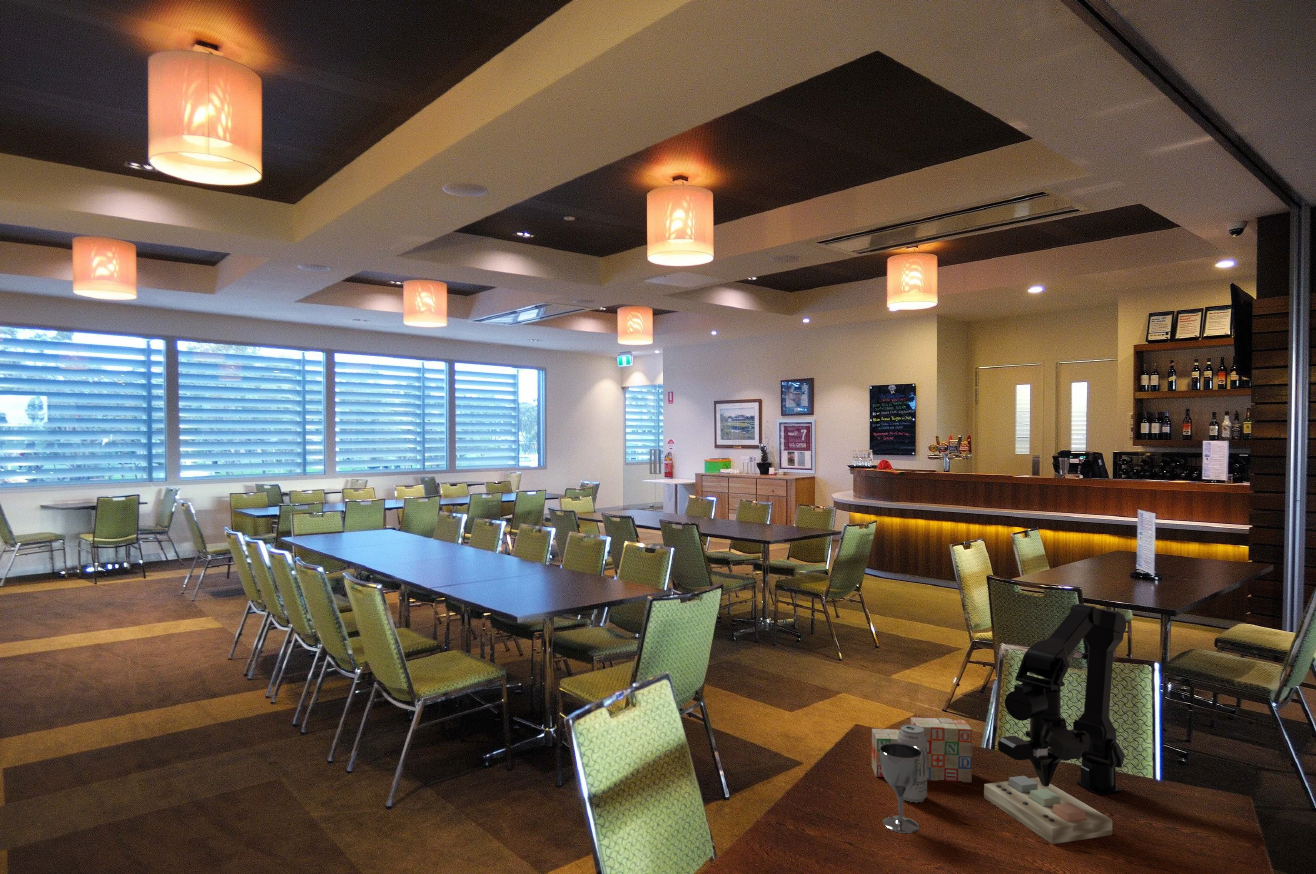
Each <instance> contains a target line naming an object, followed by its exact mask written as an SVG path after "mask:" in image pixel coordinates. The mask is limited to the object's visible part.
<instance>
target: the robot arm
mask: <svg viewBox="0 0 1316 874" xmlns="http://www.w3.org/2000/svg"><path fill="white" fill-rule="evenodd" d="M1127 625H1128V624H1127V620H1126V618H1125V617H1124V616H1123V615H1122V613H1121V612H1120V611H1116V610H1112V609H1111V610H1110V609H1104V608H1098V607H1096V606H1093V605H1088V604H1083V603H1074V604H1073V605H1072V606H1071V607H1070V611H1069V613H1068V614H1067V615H1066V617H1065V618H1064V619H1063V620H1062V622H1060V624H1059V625H1058V626H1057V627H1056V628H1055V630H1054V631H1053V632H1052V633H1051V635H1050V636H1048V638H1046V639H1043V640H1038V641H1035V643H1034V644H1032V645H1031V646H1030V647H1029V648H1028V649H1027V650H1026V651H1025V652H1024V654H1023V656H1022V659H1021V661H1020V665H1019V667H1018V670H1017V672H1016V675H1015V678H1014V681H1016V682H1019V683H1016V684H1014V686H1013V690H1011V691H1010V692H1008V694H1007V695H1006V696H1005V698H1004V707H1005V709H1006V711H1007V713H1008V715H1010V716H1011V718H1013V719H1015V720H1016V721H1022V722H1024V721H1027V720H1029V730H1025V737H1027V738H1029V740H1025V739H1023V738H1020V737H1019V736H1016V735H1009V736H1001V737H1000V738H999V739H998V740H997V750H998V751H999V752H1001V753H1002V754H1005V755H1007V757H1009V758H1011V759H1013V760H1015V761H1026V760H1029V761H1030V763H1031V764H1032V766H1033V769H1034V771H1035V773H1036V775H1037V777H1039V780H1040V782H1041V784H1042V785H1043V786H1045V787H1048V786H1049V784H1051V782H1052V779H1053V776H1054V774H1055V771H1056V769H1057V768H1058V766H1059V763H1060V762H1061V761H1067V762H1068V761H1070V760H1080V759H1081V765H1080V779H1078V780H1076V781H1075V782H1076V784H1078V785H1079V786H1081V787H1082V788H1085V789H1086V790H1088V791H1090V792H1092V793H1094V794H1096V795H1098V796H1101V795H1108V794H1115V793H1121V792H1122V789H1121V788H1120V787H1118V786H1117V785H1116V782H1117V781H1116V778H1117V777H1116V772H1117V771H1116V770H1117V768H1122V767H1123V764H1124V761H1125V752H1124V751H1123V749H1122V748H1121V746H1120V745H1119V743H1118V742H1117V731H1116V728H1115V727H1114V725H1113V723H1112V721H1111V718H1110V706H1111V705H1110V702H1111V701H1110V700H1111V691H1112V690H1111V689H1112V677H1113V663H1114V651H1115V650H1116V649H1117V648H1118V647H1119V645H1120V644H1121V643H1122V642H1123V641H1124V635H1125V632H1126V630H1127ZM1083 639H1084V640H1085V642H1086V645H1088V655H1087V656H1088V657H1087V667H1086V668H1087V670H1086V681H1085V691H1084V692H1085V693H1084V696H1085V697H1084V709H1083V713H1082V714H1081V715H1080V716H1079V717H1078V719H1074V721H1072V729H1068V727H1067V721H1066V718H1064V717H1063V716H1061V713H1062V712H1061V708H1062V707H1061V703H1062V701H1061V698H1062V697H1061V693H1062V692H1061V689H1062V687H1064V686H1065V685H1066V683H1065V682H1064V681H1063V680H1064V679H1065V676H1066V674H1067V672H1068V670H1069V668H1070V661H1069V657H1070V655H1071V654H1072V653H1073V652H1074V650H1075V649H1076V648H1077V646H1078V645H1080V643H1081V642H1082V640H1083Z"/></svg>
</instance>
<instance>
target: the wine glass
mask: <svg viewBox="0 0 1316 874" xmlns="http://www.w3.org/2000/svg"><path fill="white" fill-rule="evenodd" d="M880 762H881V768H882V772H883V775H884V778H883V779H885V781H886V782H887V783H888V785H889V786H890V787H891V788H892V789H893V791H894V792H895V795H896V798H897V799H896V800H897V806H898V807H897V808H898V815H892V816H893V817H889V816H887V817H888V818H886V817H884V818H885V819H884V818H883V819H882V821H881V823H882V822H883V824H882V825H883V826H884V825H885V826H886V827H887V828H886V827H885V828H886V829H887V830H889V829H890V830H889V831H891V832H893V831H895V832H894V833H897V832H898V834H905V833H908V834H913V833H912V832H914V833H916V832H918V831H919V830H920V825H919V823H918V822H917V821H915V820H914V819H911V818H909V817H906V816H903V815H904V814H903V812H904V811H903V808H904V801H905V800H904V797H905V794H906V793H907V791H908V790H909V789H910V788H912V787H913V786H914V785H915V783H916V782H917V780H918V778H919V774H920V769H921V751H920V750H919V749H918V748H917V747H915V746H912V745H909V744H905V743H886V744H883V745H882V746H881V747H880ZM905 817H906V818H905Z"/></svg>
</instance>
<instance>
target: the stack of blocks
mask: <svg viewBox="0 0 1316 874" xmlns="http://www.w3.org/2000/svg"><path fill="white" fill-rule="evenodd" d="M910 724H911V725H917V726H920V727H922V728H923V729H924V733H925V735H926V737H927V779H930V780H929V781H938V780H946V781H945V782H957V781H962V782H961V783H972V782H973V780H972V779H973V776H972V775H973V771H972V768H973V767H972V766H973V729H972V728H971V726H970V725H969V724H968V722H967V721H966V720H964V719H951V718H946V717H945V718H943V717H938V718H935V717H934V718H933V717H910ZM900 730H901V729H890V728H889V729H888V728H887V729H886V728H885V729H884V728H871V767H872V770H873V773H874V776H875V777H876V778H877V777H884V775H883V772H882V768H881V762H880V747H881V746H882V745H883V744H886V743H898V733H899V731H900Z"/></svg>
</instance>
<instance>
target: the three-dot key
mask: <svg viewBox="0 0 1316 874" xmlns="http://www.w3.org/2000/svg"><path fill="white" fill-rule="evenodd" d="M1008 781H1009V786H1010V787H1012V788H1014V789H1015V790H1017V791H1018V792H1020V793H1028V792H1030V791H1031V790H1038V783H1036V782H1034V781H1033V780H1031V779H1029V777H1028V776H1026V775H1019V776H1018V775H1017V776H1010V777H1008Z"/></svg>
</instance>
